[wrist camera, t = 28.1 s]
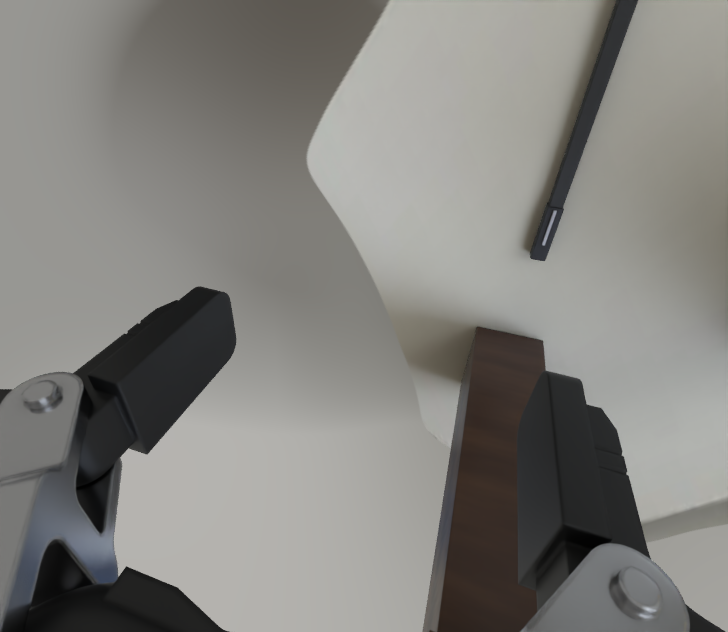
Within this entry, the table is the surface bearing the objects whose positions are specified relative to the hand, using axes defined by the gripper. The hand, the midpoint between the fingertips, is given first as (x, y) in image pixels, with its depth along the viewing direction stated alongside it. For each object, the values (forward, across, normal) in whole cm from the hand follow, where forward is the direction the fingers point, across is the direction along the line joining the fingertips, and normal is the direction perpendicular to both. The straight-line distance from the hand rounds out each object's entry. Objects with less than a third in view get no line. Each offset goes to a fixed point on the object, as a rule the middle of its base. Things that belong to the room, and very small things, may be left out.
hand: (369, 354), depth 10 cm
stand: (+30, -9, +24) cm, 40 cm away
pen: (+30, -8, 0) cm, 31 cm away
